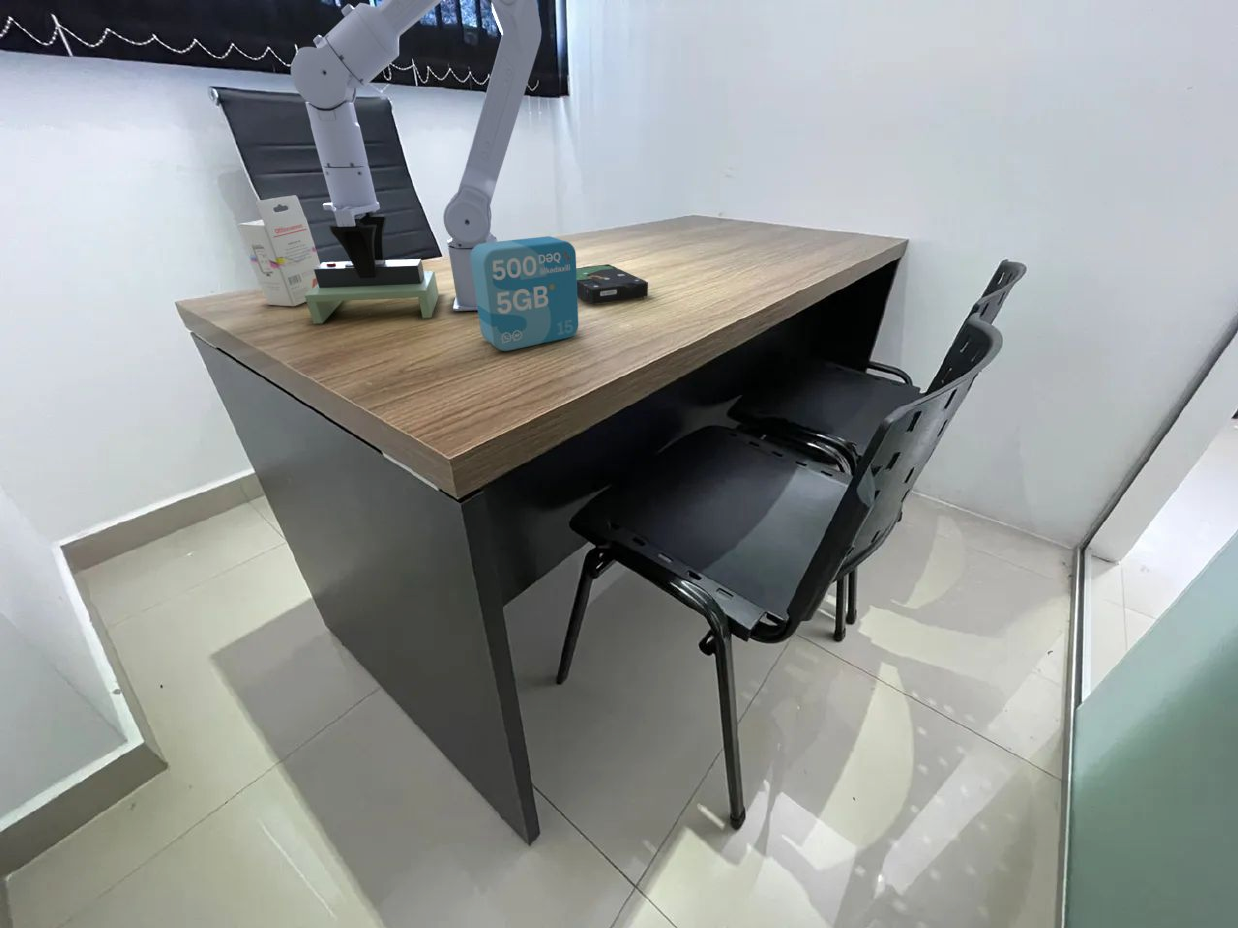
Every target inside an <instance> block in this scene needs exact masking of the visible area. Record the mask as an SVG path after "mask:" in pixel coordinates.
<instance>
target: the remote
mask: <svg viewBox="0 0 1238 928" xmlns="http://www.w3.org/2000/svg"><path fill="white" fill-rule="evenodd" d="M375 264H376V277H375V278H360V277H359V276H358V274H357V272H356V270H355V268H354V266H353V264H352V262H351V260H349V261H323V262H320V265H319V266H317V267H316V268H315V269H314V272H315V275H316V279H317V282H318V285H319V288H331V287H355V286H379V285H403V284H421V282H422V280H423V278H424V271H425V270H424V266H423V261H422V259H421V258H412V259H408V258H407V259H384V260H375Z"/></svg>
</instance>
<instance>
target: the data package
mask: <svg viewBox="0 0 1238 928" xmlns="http://www.w3.org/2000/svg"><path fill="white" fill-rule="evenodd" d="M470 260H471V267H472V274H473V281H474V287H475V294H476V301H477V308H478V310H477V315H478V321H479V327H480V328H479V329H480V333H481V336H482V338H483V339H485V340H486V341H487V342H488V343H490V344H491V345H492V346H494V347H495V348H496V349H498V350H499V351H502V352H509V351H510V352H511V351H515V350H519V349H524V348H528V347H533V346H538V345H542V344H547V343H552V342H556V341H562V340H565V339H570V338H571V337H573V336H574V335H576V333H577V331H578V329H579V306H578V305H579V304H578V303H579V300H578V296H577V273H576V268H577V252H576V249H575V247H574V246H573V244H572V243H571V242H569V241H566V240H562V239H559V238H557V237H554V236H550V235H545V236H538V237H529V238H520V239H519V238H518V239H510V240H500V241H498V240H497V242H489V243H481V244H478V245H476V246H475V247H474V248H473V250H472V252H471V255H470Z"/></svg>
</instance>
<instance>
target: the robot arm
mask: <svg viewBox="0 0 1238 928" xmlns="http://www.w3.org/2000/svg"><path fill="white" fill-rule="evenodd" d="M441 2H443V0H383V1H382V2H380V4H379V5H378V6H375V5H370V4H368V3H364V2H359V3H358V4H357V5H356V6H355V7H353V5H351V4H350V3H347V4H346V5H345V6H344V7H343V8H342V9H341V13H342V14H343V16H344V17H343V18H342V19H341V20H340V21H339V22H338V23H337V24H336V25H335V26H334V27H333V28H332V29H331V30H330V31H329V32H327V34H325V36H322V35H320V34H318V35H316V37H314V39H313V43H314V45H315V46H316V47H313V46H303V47H300V48H299V49H298V50H297V53H296V55H295V56H294V58H293V59H292V61H291V65H290V77H291V80H292V83H293V86H294V87H295V89H296V91H297V92H298V94H299V95H300V96H301V98H302V99H304V101H305V102H304V104H305V107H306V110H307V115H308V118H309V122H310V128H311V132H312V136H313V139H314V143H315V146H316V151H317V154H318V159H319V162H320V166H321V168H322V172H323V175H324V179H325V183H326V188H327V191H328V194H329V198H330V202H325V203H323V204H322V207H323V210H324V211H331V212H333V214H334V218H335V221H336V223H334V222H333V223H331V224H329V226H328V227H329V230H330V232H331V234H332V235H333V236H334V237H335V238H336V239H337V241H338V242H339V243H340V245H341V247H342V248H343V249H344V251H345V252H346V254H347V256H348V258H349V261H351V262H352V264H353V266H354V268H355V270H356V272H357V274H358V276H359V277H360V278H375V277H376V264H375V260H385V258H384V255H385V253H384V233H385V227H386V224H387V215H386V214H384V213H383V214H381V213H379V214H377V213H376V212H377V211H378V210H380V208H381V206H380V202H378V199H377V195H376V192H375V187H374V183H373V178H372V174H371V169H370V166H369V162H368V155H367V151H366V148H365V144H364V139H363V135H362V130H361V127H360V124H359V122H358V118H357V113H356V109H355V105H354V103H355V101H356V98H357V88H358V89H359V88H360V89H364V88H365V87H366V86H367V85H369V83H371V82H372V80H374V79H375V78H376V77H377V76H379V74H380V73H381V72H382V71H384V70H385V69H386V68H387V67H388V66H389V65H390V64H391V63H392V62H393V61H395V60H396V59H397V58H398V57H399V56H400V37H401V35H403V34H404V33H406V31H407V30H409V29H411V27H413V26H414V25H415V24H416V23H418V22H419V21H420V20H421V19H422V18H423V17H424V16H426V15H427V14H428V13H430V12H431V11H432V10H433V9H434V8H435V7H437V6H438V5H439V4H440V3H441ZM485 2H486V3H487V4H488V5H489V7H490V8H491V12H492V14H493V17H494V19H495V21H496V24H497V26H498V27H497V28H498V29H499V32H500V33H501V39H500V42H499V46H498V49H497V52H496V56H495V60H494V64H493V66H492V67H493V68H492V71H491V74H490V78H489V81H488V85H487V89H486V93H485V97H484V100H483V102H482V103H483V104H482V105H481V110H480V112H479V113H480V114H479V117H478V121H477V124H476V128H475V131H474V135H473V138H472V142H471V146H470V150H469V153H468V156H467V160H466V163H465V167H464V170H463V174H462V177H461V180H460V183H459V186H458V190H457V192H455V194H454V195H453V196H452V197H451V198H450V200H449V202H448V203H447V204H446V206H445V208H444V212H443V225H444V228H445V230H446V232H447V234H448V235H449V237H450V238H449V239H447V240H446V244H447V250H448V256H449V262H450V267H451V273H452V278H453V285H454V291H455V299H454V302H453V305H452V311H454V312H467V311H468V312H469V311H478V308H477V301H476V294H475V287H474V281H473V274H472V267H471V260H470V255H471V252H472V250H473V248H474V247H475V246H476V245H478V244H481V243H489V242H498V239H497V237H496V236H495V235H494V234H493V233H491V228H492V208H491V204H492V201H493V196H494V193H495V191H496V186H497V182H498V179H499V177H500V173H501V170H502V167H503V164H504V160H505V157H506V154H507V150H508V147H509V145H510V140H511V138H512V134H513V131H514V128H515V124H516V121H517V118H518V115H519V112H520V108H521V106H522V101H523V99H524V96H525V93H526V89H527V86H528V83H529V79H530V77H531V73H532V70H533V67H534V64H535V60H536V57H537V54H538V50H539V48H540V44H541V41H542V40H541V39H542V26H541V20H540V16H539V15H540V14H539V9H538V2H537V0H485ZM374 213H376V214H374Z"/></svg>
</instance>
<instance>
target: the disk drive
mask: <svg viewBox="0 0 1238 928" xmlns="http://www.w3.org/2000/svg"><path fill="white" fill-rule="evenodd" d="M576 273H577V297H578V298H581V299H582V300H584V301H586V302H587V303H590V304H591V305H601V304H609V303H618V302H619V303H620V302H625V301H631V300H638V299H641V298H642V299H644V298H647V297H648V296H649V282H648V281H646V280H645V279H643V278H640V277H638V276H636V275H633V274H632V273H630V272H627V271H624V270H622V269H620V268H618V267H616V266H615V265H612V264H609V263H607V264H598V265H591V266H590V265H587V266H582V267H576Z"/></svg>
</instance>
